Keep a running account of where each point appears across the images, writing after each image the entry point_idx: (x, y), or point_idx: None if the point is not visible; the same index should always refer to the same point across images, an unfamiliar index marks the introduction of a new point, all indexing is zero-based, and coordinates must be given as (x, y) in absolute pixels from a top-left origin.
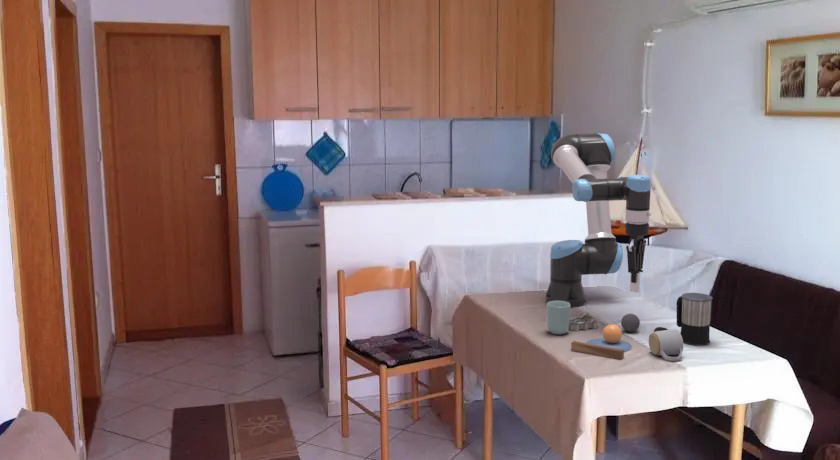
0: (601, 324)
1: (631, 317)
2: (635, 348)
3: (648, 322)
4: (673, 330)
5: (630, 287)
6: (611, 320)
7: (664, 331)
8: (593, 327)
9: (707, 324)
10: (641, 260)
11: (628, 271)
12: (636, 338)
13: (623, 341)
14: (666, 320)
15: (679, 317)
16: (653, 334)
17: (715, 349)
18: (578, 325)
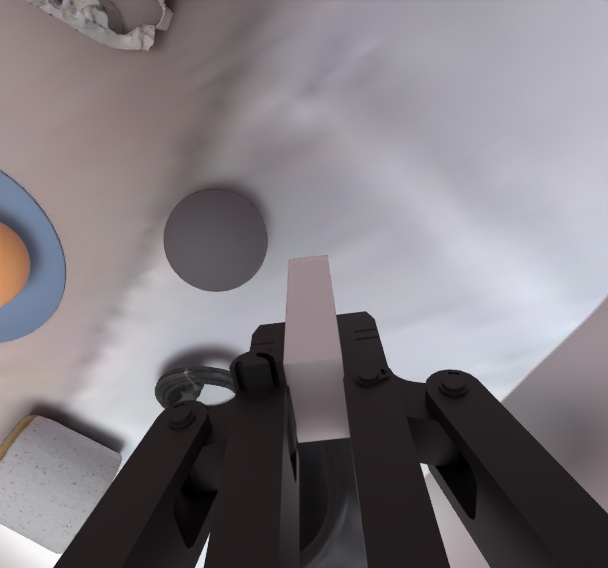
0: (229, 24)
1: (183, 274)
2: (30, 348)
3: (428, 221)
4: (44, 542)
5: (289, 278)
6: (348, 30)
7: (10, 521)
8: (120, 28)
9: None
10: (485, 546)
11: (166, 411)
12: (149, 294)
13: (55, 278)
14: (509, 271)
15: (323, 448)
16: None
17: None
18: None
